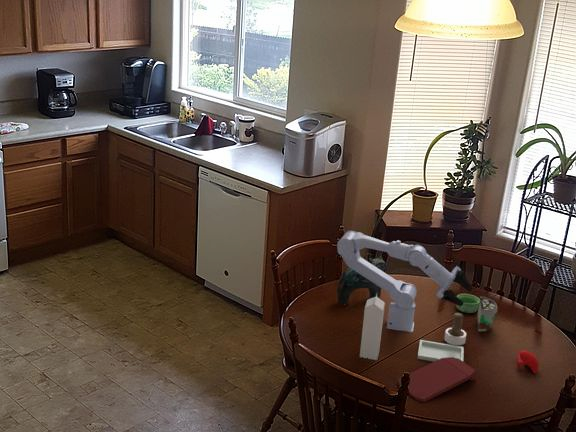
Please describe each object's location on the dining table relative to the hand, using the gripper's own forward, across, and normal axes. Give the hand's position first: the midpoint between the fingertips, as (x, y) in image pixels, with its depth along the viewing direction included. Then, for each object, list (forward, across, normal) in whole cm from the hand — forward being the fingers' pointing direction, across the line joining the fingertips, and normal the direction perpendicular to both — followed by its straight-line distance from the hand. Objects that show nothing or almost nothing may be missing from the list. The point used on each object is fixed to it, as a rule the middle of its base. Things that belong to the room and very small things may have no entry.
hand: (466, 297), depth 248 cm
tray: (+5, -22, +6) cm, 23 cm away
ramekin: (+9, +15, +26) cm, 31 cm away
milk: (-14, -36, +12) cm, 41 cm away
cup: (+8, -10, +11) cm, 17 cm away
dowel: (+7, -10, +11) cm, 16 cm away
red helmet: (+29, -10, -4) cm, 31 cm away
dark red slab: (+6, -36, -3) cm, 37 cm away
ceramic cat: (-25, -7, +38) cm, 46 cm away
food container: (+16, +6, +15) cm, 22 cm away
